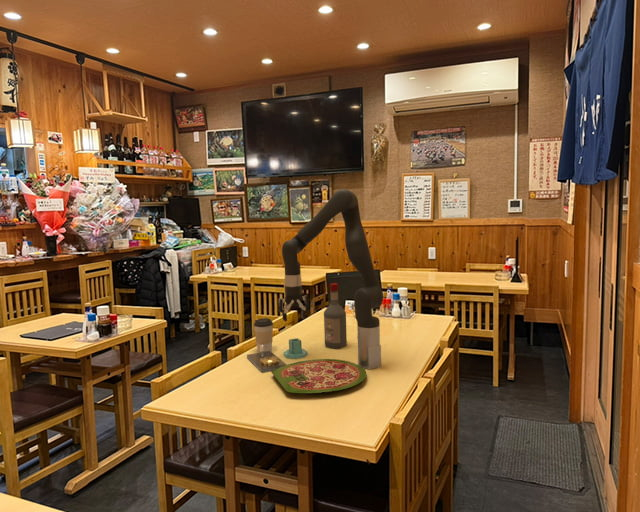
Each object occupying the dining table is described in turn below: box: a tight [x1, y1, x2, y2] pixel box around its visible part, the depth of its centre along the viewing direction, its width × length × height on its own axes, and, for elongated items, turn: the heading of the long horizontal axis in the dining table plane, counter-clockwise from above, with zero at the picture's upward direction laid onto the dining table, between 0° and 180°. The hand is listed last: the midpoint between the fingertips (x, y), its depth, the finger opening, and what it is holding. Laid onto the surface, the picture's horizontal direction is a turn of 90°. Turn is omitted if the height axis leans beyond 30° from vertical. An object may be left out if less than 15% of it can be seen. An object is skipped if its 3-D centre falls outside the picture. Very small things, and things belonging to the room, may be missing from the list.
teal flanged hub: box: [283, 337, 308, 360], centre depth 214 cm, size 10×10×7 cm
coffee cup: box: [253, 317, 274, 353], centre depth 222 cm, size 9×9×15 cm
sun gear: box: [260, 356, 280, 366], centre depth 201 cm, size 8×8×2 cm
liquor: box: [323, 282, 348, 350], centre depth 225 cm, size 9×9×30 cm
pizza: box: [271, 358, 367, 394], centre depth 185 cm, size 35×35×2 cm
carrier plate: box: [246, 345, 288, 373], centre depth 205 cm, size 21×11×6 cm, turn 25°
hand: (294, 319), depth 213 cm, fingers open, 8 cm apart
